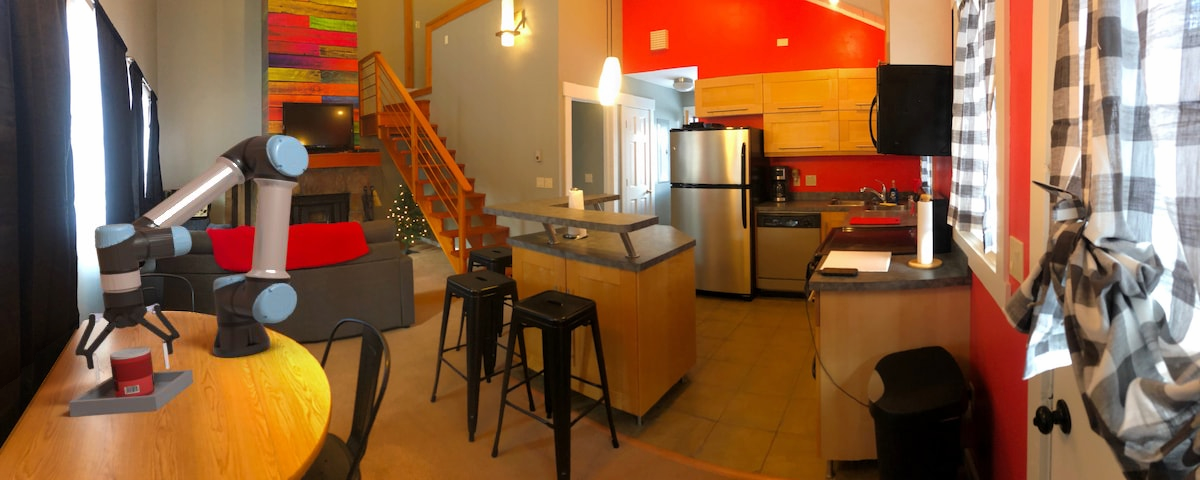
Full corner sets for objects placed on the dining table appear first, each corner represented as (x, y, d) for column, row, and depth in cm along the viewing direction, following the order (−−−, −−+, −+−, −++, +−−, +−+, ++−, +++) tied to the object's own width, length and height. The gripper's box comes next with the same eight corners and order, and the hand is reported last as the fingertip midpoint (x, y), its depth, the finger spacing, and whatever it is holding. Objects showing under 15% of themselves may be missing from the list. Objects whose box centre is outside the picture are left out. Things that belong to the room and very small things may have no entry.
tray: (193, 382, 164) (191, 369, 163) (156, 410, 146) (155, 396, 146) (117, 387, 161) (115, 374, 160) (70, 417, 143) (68, 402, 143)
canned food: (163, 390, 156) (157, 347, 154) (130, 402, 148) (124, 358, 147) (141, 386, 158) (135, 345, 157) (107, 399, 151) (101, 355, 149)
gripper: (182, 278, 160) (192, 358, 163) (53, 294, 145) (67, 382, 148) (186, 283, 154) (196, 366, 158) (52, 300, 139) (66, 391, 142)
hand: (133, 374), depth 153 cm, fingers open, 13 cm apart
